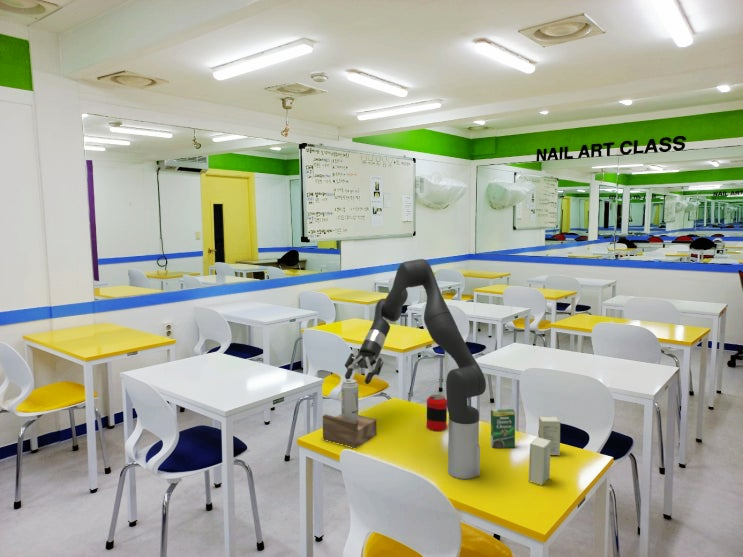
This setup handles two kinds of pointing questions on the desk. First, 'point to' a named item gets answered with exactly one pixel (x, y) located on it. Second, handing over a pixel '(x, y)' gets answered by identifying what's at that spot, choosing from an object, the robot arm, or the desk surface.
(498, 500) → the desk surface
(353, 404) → the energy drink can
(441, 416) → the soda can
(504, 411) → the coffee box
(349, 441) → the walnut shelf block
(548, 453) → the skincare box
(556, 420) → the skincare box
